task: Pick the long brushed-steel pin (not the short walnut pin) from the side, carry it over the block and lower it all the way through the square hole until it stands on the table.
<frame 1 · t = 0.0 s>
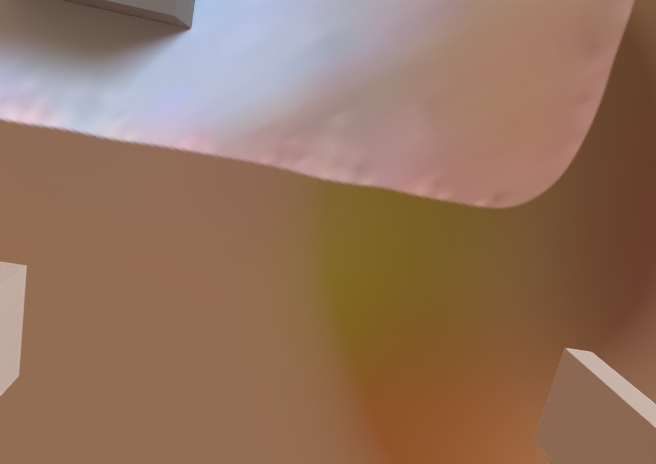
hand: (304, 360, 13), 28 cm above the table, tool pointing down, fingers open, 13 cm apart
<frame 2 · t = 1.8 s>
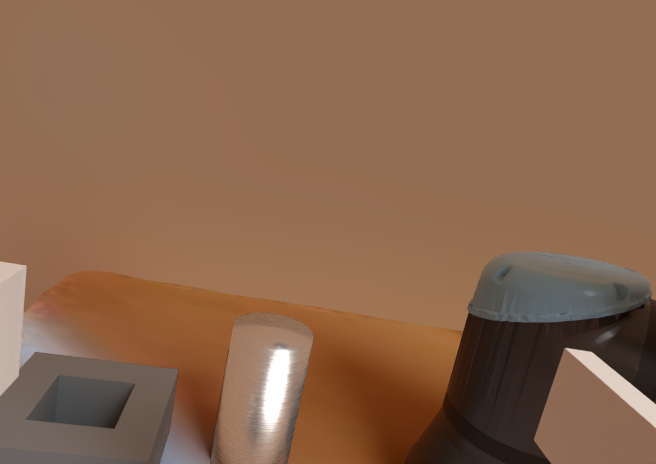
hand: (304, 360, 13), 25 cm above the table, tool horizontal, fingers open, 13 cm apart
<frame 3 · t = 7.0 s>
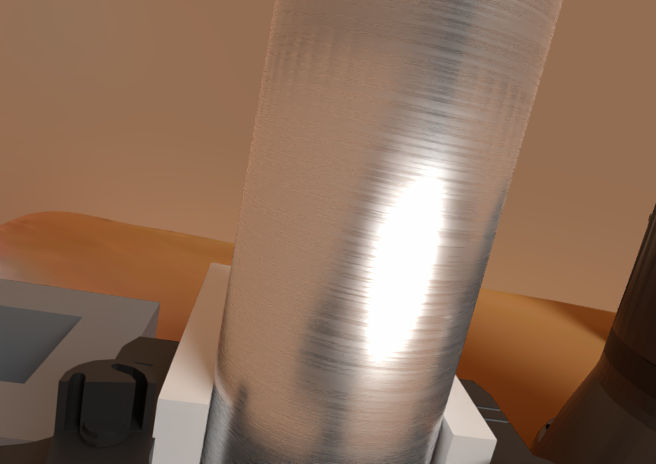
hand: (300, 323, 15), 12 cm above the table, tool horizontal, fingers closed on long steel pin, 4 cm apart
when the fingers open (13 cm above the table, at t = 13.8 s): long steel pin stays where it is, on the table.
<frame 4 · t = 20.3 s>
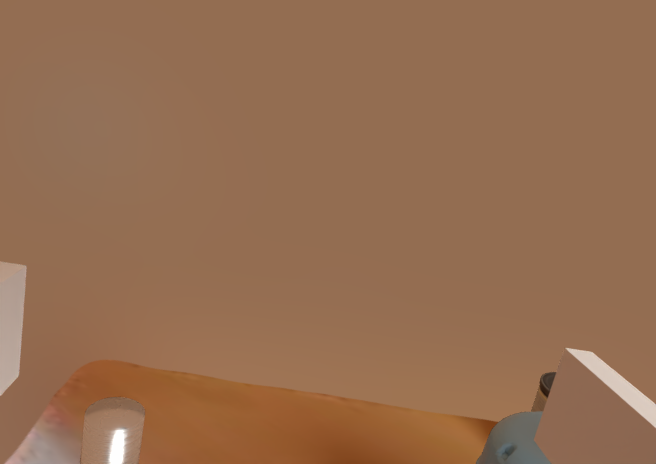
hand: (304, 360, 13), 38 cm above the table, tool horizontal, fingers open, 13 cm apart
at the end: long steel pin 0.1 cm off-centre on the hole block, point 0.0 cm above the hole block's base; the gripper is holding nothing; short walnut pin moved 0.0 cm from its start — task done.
